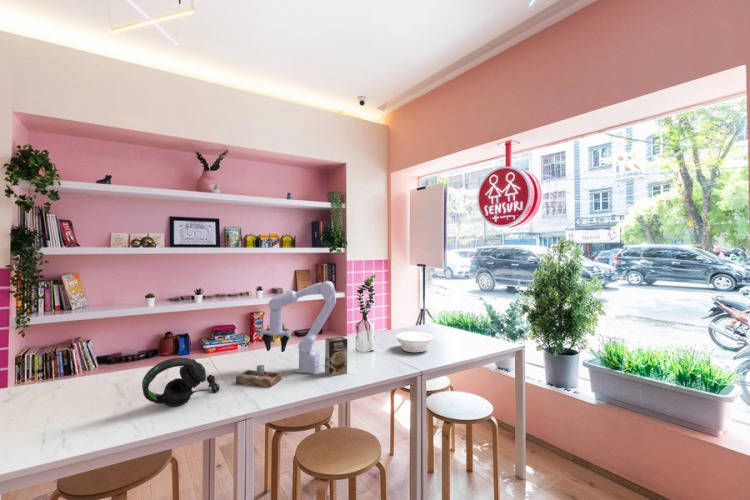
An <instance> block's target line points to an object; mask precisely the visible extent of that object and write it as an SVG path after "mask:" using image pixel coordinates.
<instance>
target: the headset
mask: <svg viewBox="0 0 750 500" xmlns="http://www.w3.org/2000/svg"><path fill="white" fill-rule="evenodd" d="M176 367H179V371H178V372H179V376H180V377H181V378H174V379H172V380H170V381H168V382H167V384H166V385H165V387H164V389H163V393H160V394H159V393H155V392H153V391H152V390H150V389H149V387H150V384H151V382H153V381H154V380H155V378H156V377H157V376H158V375H159V374H160V373H162V372H164V371H166V370H169V369H171V368H172V369H173V368H176ZM206 373H207V371H206V368H205V366H203V364H201V362H197V360H196V359H193V358H188V357H174V358H169V359H166V360H163V361H161V362H159V363H157V364H156V365H154V366H153V367H151V368H150V369H149V370H148V371H147V373H146V374H145V375H144V377H143V379H142V381H141V388H142V392H143V396H144V398H145V399H146V400H148V401H149V402H152V403H154V404H158V405H165V406H166V407H169V408H170V407H171V408H177V407H180V406H184V405H185V404H187V403H188V402H189V401H190V399H191V396H192V395H194V394H195V393H198V392H205V391H211V392H212V393H217V392H219V391H220V387H221V384H219V383H217V382H216V377H215V375H212V374H208V376H207V374H206ZM205 381H207V383H208V389H200V390H193V389H195V388H197V386H199V385H200V384H201V383H204V382H205Z"/></svg>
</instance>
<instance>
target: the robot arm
mask: <svg viewBox="0 0 750 500" xmlns="http://www.w3.org/2000/svg"><path fill="white" fill-rule="evenodd" d="M311 294H318V295H319V294H320V295H321V296H322V297H323V299H324V305H323V307H322V308H321V311H320V312H319V314H318V315H317V317H316V319H315V320H314V322H313V324H312V326H311V327H310V329H309V330H308V332H307V334H305V336H303V337H302V339H301V340H300V342H299V343H298V368H297V369H296V370H295V373H303V374H304V373H305V374H316V373H317V372H318V371H319V370H320V369H321V366H320V365H321V364H320V353H319V352H316V351H315V348H314V347H313V346H314V345H315V340H316V338H317V337H318V335H319V333H320V332H321V329H322V328H323V326H324V325H325V323H326V321H327V319H328V318H329V316H330V315H331V313H332V311H333V309H334V308H335V306H336V304H337V297H336V295H337V294H336V288H335V284H334V283H333V282H332V281H330V280H324V281H323V282H317V283H314V284H311V285H309V286H307V287H304V288H302V289H300V290H297V291H294V290H290V289H289V290H287V291H286V292H285V293H283V294H278V295H277V296H275V297H273V298H271V299H270V300H269V302H268V307H269V330H262V331H261V332H260V334H261V339H262V341H263V342H264V345H265V348H266V351H267V352H269V351H270V350H271V347H272V346H271V345H272V338H273V337H272V336H274V337H279V340H280V344H281V345H280V350H281V353H284V352H285V351H286V347H287V343H288V342H289V339H290V337H291V336H292V332H291V331H285V330H283V307H286V306H290V305H292V304H294V303H297V301H298V300H299V299H300V298H302V297H304V296H308V295H311Z"/></svg>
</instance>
